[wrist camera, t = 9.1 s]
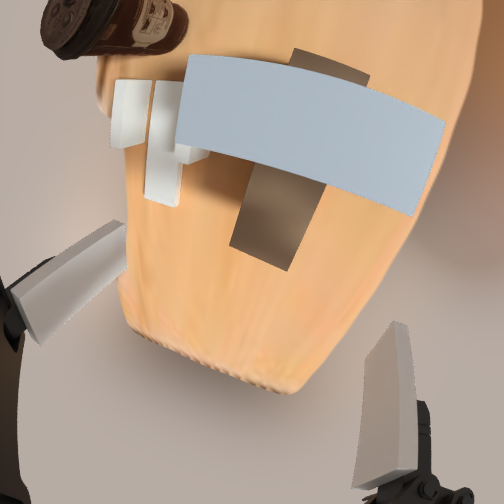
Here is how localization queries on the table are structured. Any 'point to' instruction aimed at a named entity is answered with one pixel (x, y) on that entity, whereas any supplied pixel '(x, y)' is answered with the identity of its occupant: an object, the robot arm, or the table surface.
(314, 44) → the table surface
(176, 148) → the cradle
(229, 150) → the bore block
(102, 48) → the coffee cup
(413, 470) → the robot arm
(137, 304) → the table surface
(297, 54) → the walnut bar
